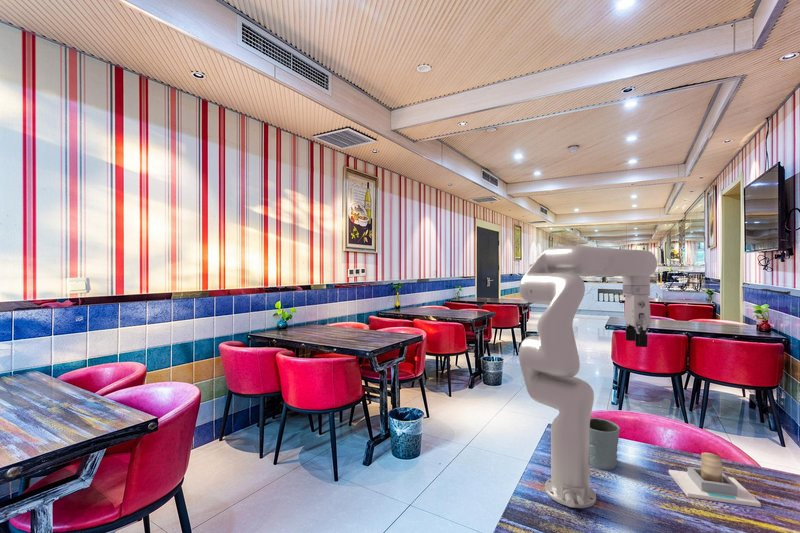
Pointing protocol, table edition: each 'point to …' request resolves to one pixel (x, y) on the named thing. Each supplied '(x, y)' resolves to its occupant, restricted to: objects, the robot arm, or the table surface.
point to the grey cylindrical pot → (603, 443)
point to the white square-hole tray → (713, 488)
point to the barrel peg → (711, 467)
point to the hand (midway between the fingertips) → (636, 343)
